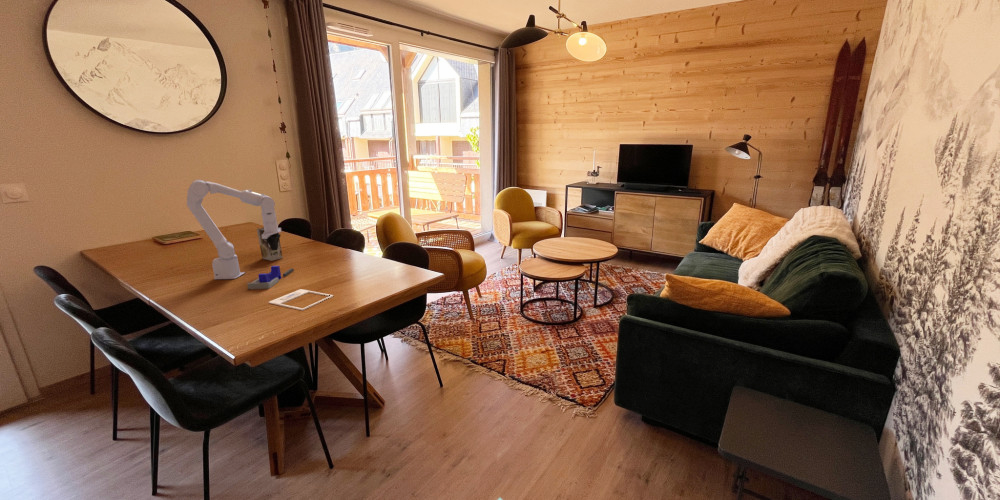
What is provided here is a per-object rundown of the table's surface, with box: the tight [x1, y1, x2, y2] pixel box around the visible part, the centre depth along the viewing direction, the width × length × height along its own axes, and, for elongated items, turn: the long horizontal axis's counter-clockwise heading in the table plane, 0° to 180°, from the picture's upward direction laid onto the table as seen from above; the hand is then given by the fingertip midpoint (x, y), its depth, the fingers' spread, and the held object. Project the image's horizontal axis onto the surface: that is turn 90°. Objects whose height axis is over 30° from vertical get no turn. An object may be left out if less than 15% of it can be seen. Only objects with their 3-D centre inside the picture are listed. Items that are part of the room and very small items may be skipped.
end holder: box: [246, 277, 280, 290], centre depth 171 cm, size 8×9×2 cm
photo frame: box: [268, 288, 334, 312], centre depth 155 cm, size 15×1×18 cm
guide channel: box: [282, 268, 294, 277], centre depth 186 cm, size 8×8×1 cm
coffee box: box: [256, 227, 283, 262], centre depth 208 cm, size 9×6×16 cm
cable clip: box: [258, 265, 282, 282], centre depth 174 cm, size 12×4×6 cm, turn 3°
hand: (274, 249), depth 191 cm, fingers closed
